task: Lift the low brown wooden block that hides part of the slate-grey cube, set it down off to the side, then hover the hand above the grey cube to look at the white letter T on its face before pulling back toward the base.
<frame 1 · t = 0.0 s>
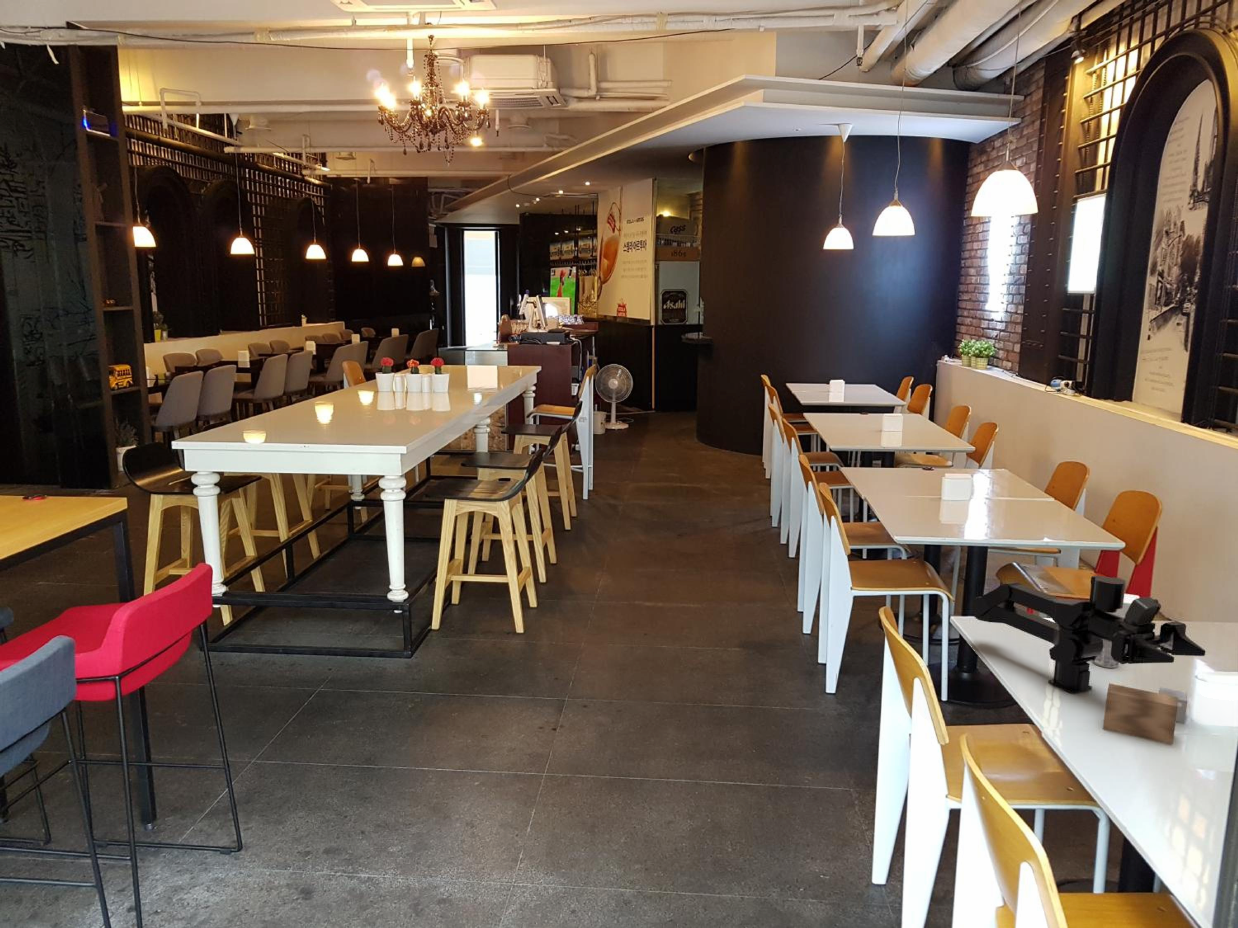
hand: (1189, 656, 176), 17 cm above the table, tool horizontal, fingers open, 9 cm apart
letter cube: (1170, 716, 188), on the table
energy drink: (1105, 664, 215), on the table
brown wooden block: (1137, 732, 181), on the table
small box: (1120, 648, 226), on the table
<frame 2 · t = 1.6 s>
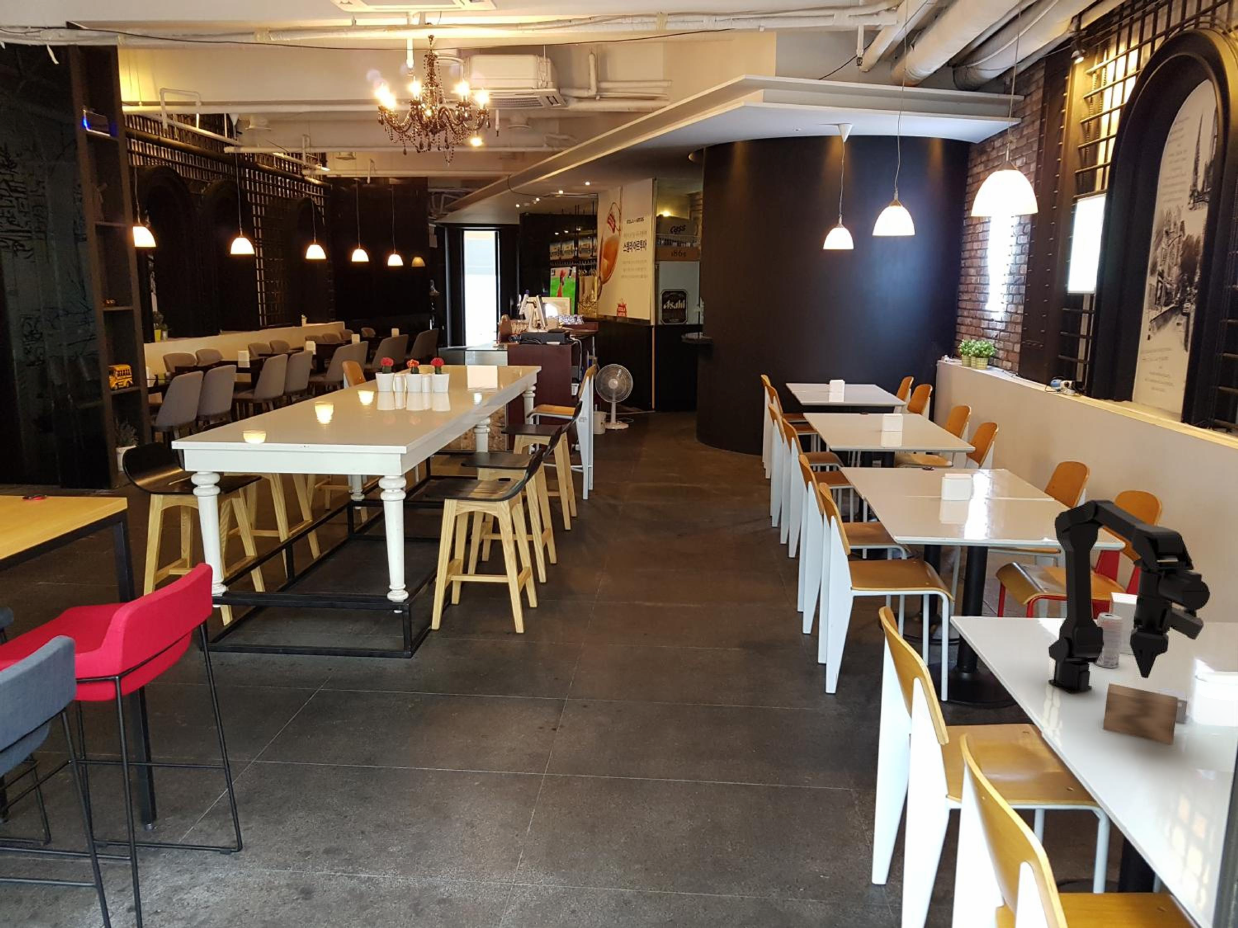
hand: (1145, 669, 179), 13 cm above the table, tool pointing down, fingers open, 9 cm apart
nothing on the table moved.
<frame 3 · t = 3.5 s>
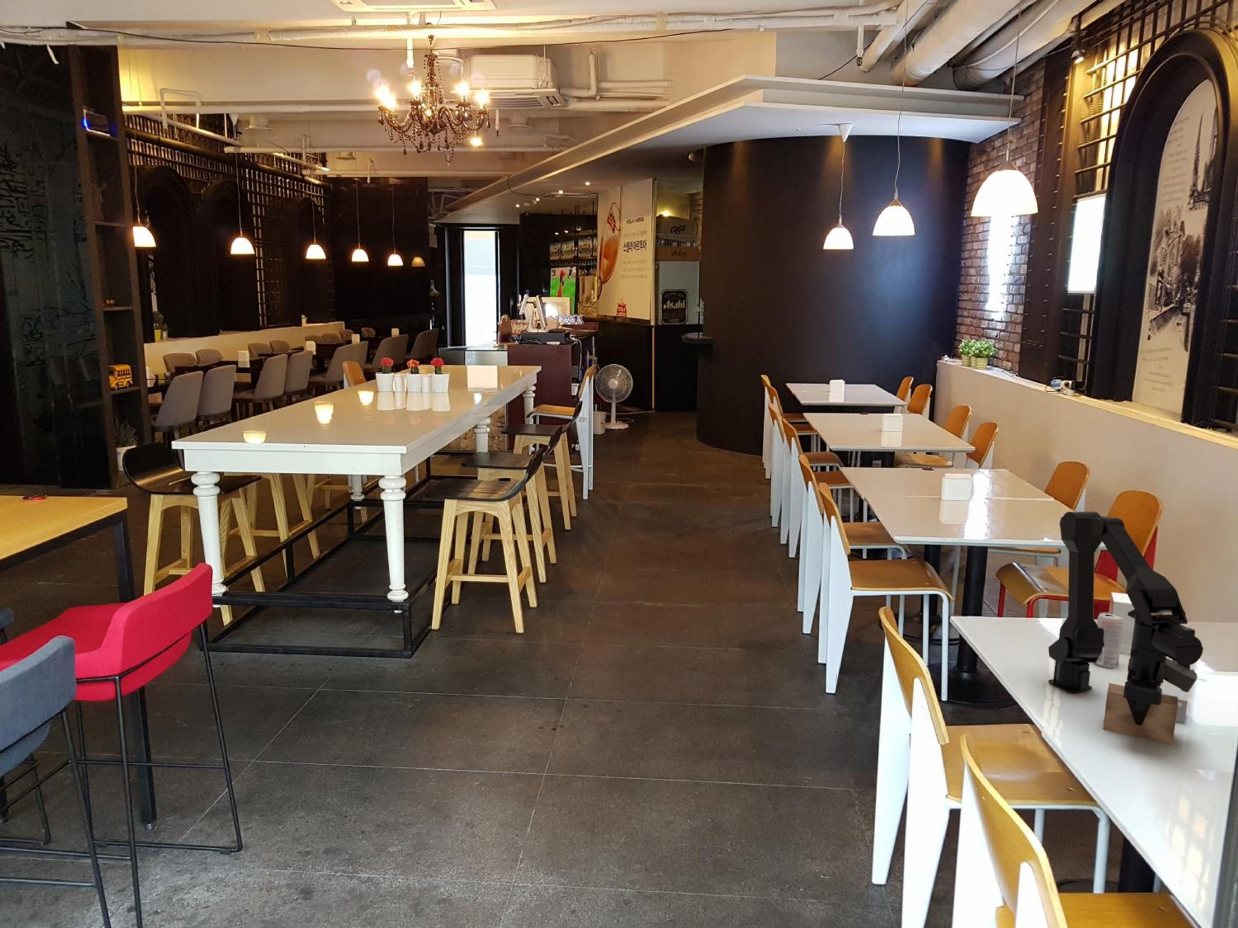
hand: (1139, 719, 180), 3 cm above the table, tool pointing down, fingers closed on brown wooden block, 5 cm apart
brown wooden block: (1137, 731, 181), on the table, touching gripper
everything else where it was.
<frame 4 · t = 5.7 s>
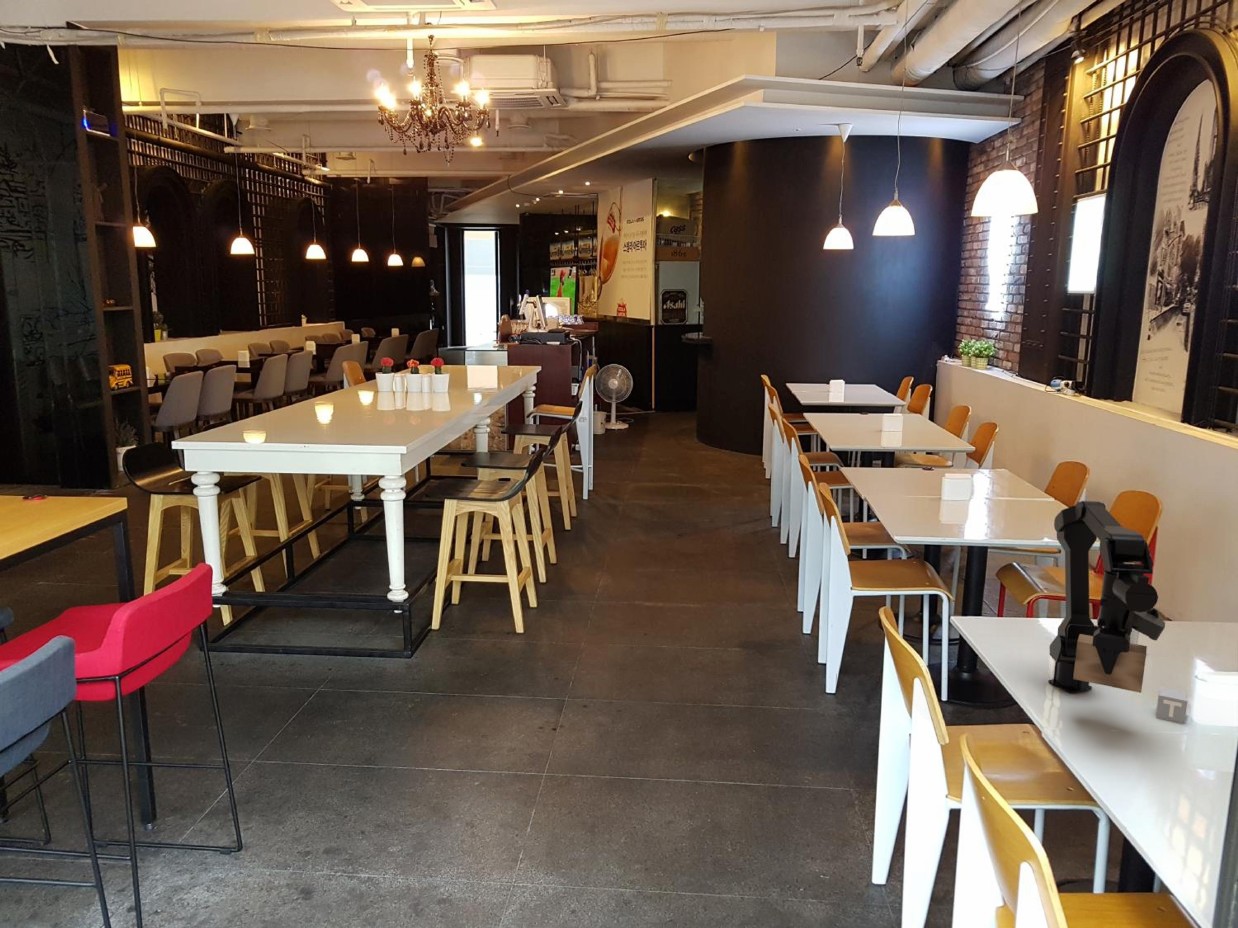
hand: (1108, 669, 182), 12 cm above the table, tool pointing down, fingers closed on brown wooden block, 5 cm apart
brown wooden block: (1107, 681, 182), point 9 cm above the table, touching gripper
everything else where it was.
when the fingers open (4 cm above the table, at t = 7.9 s): brown wooden block drops 2 cm, on the table.
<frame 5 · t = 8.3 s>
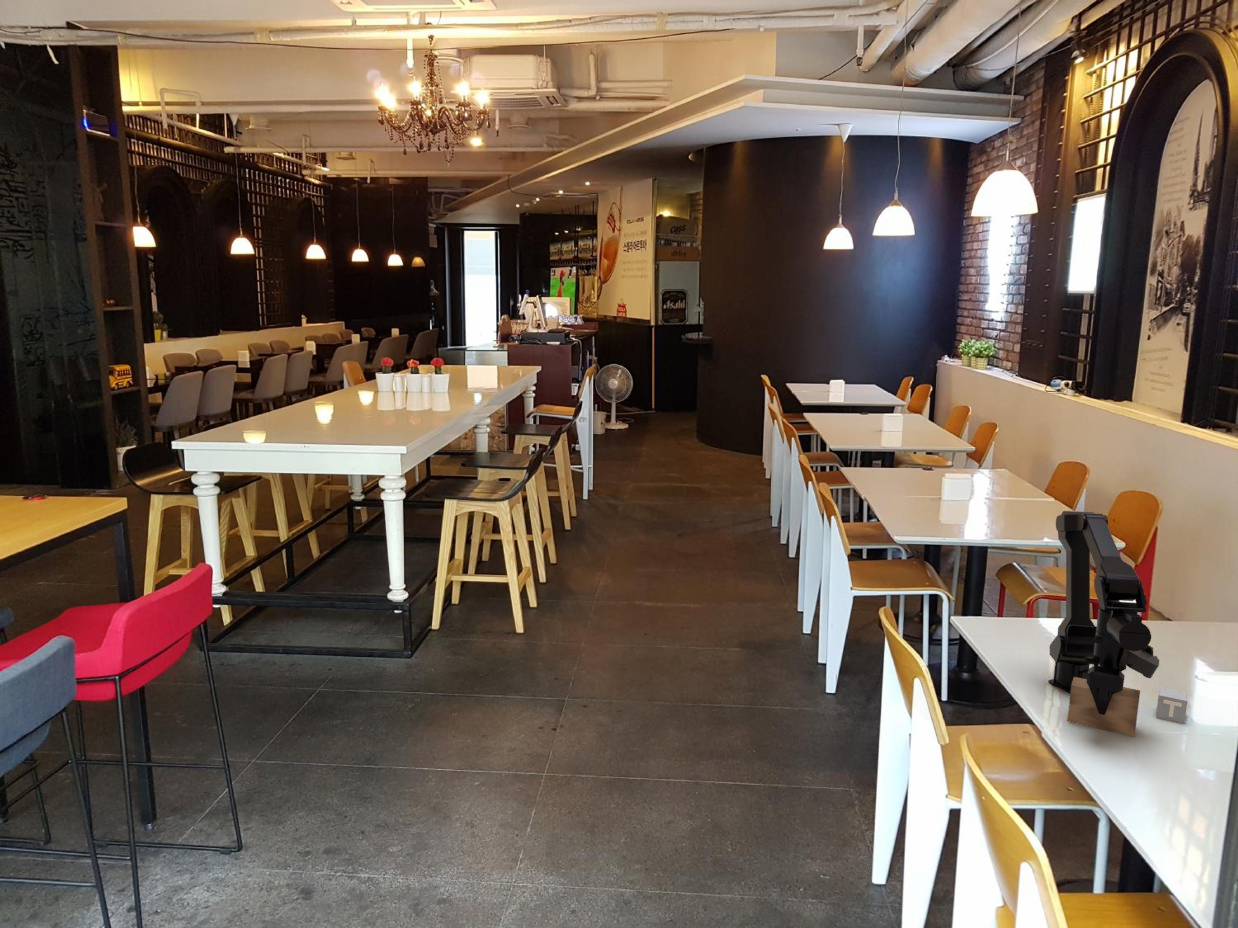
hand: (1103, 705, 183), 4 cm above the table, tool pointing down, fingers open, 9 cm apart
brown wooden block: (1101, 724, 184), on the table
everything else where it was.
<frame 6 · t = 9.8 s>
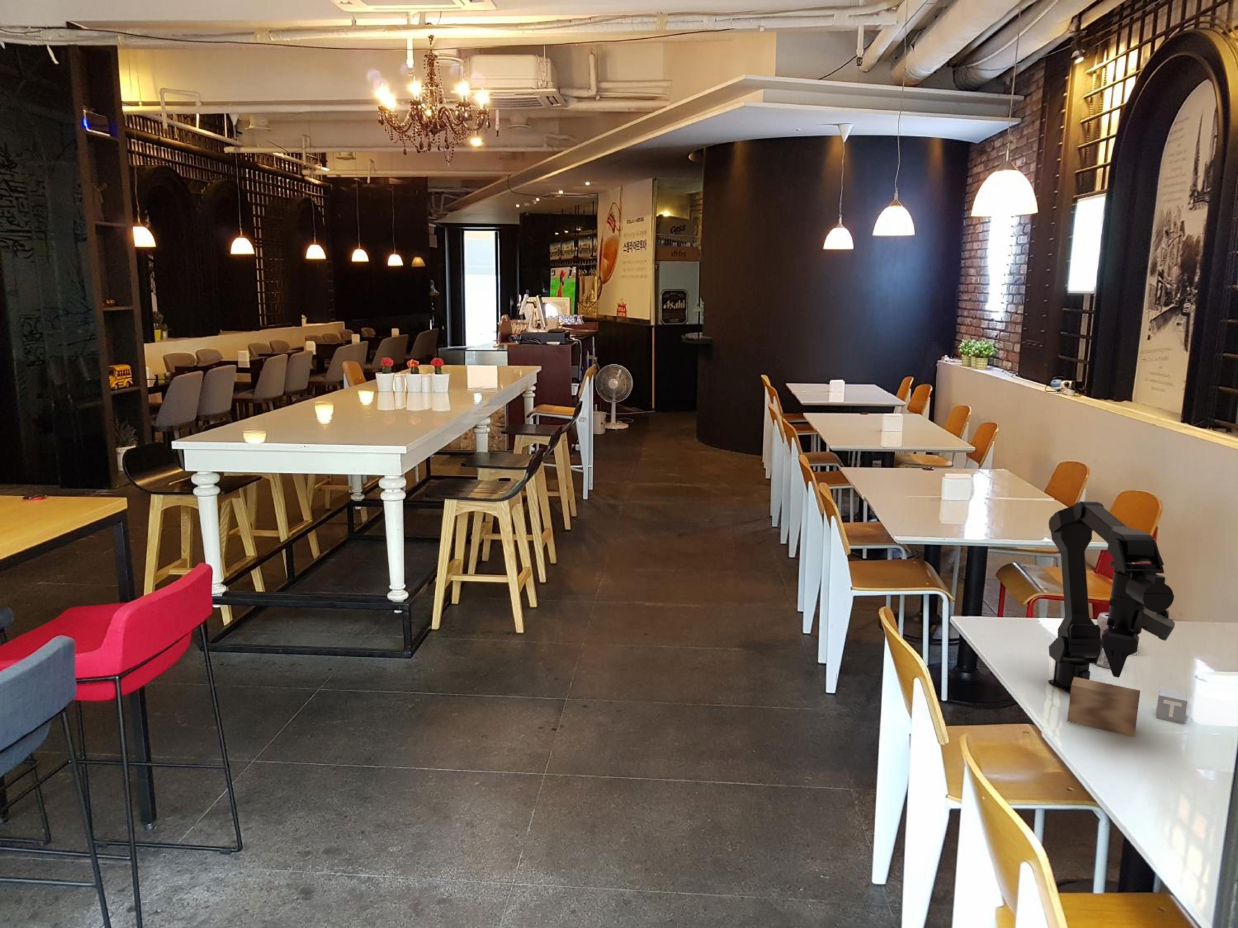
hand: (1118, 669, 183), 12 cm above the table, tool pointing down, fingers open, 9 cm apart
nothing on the table moved.
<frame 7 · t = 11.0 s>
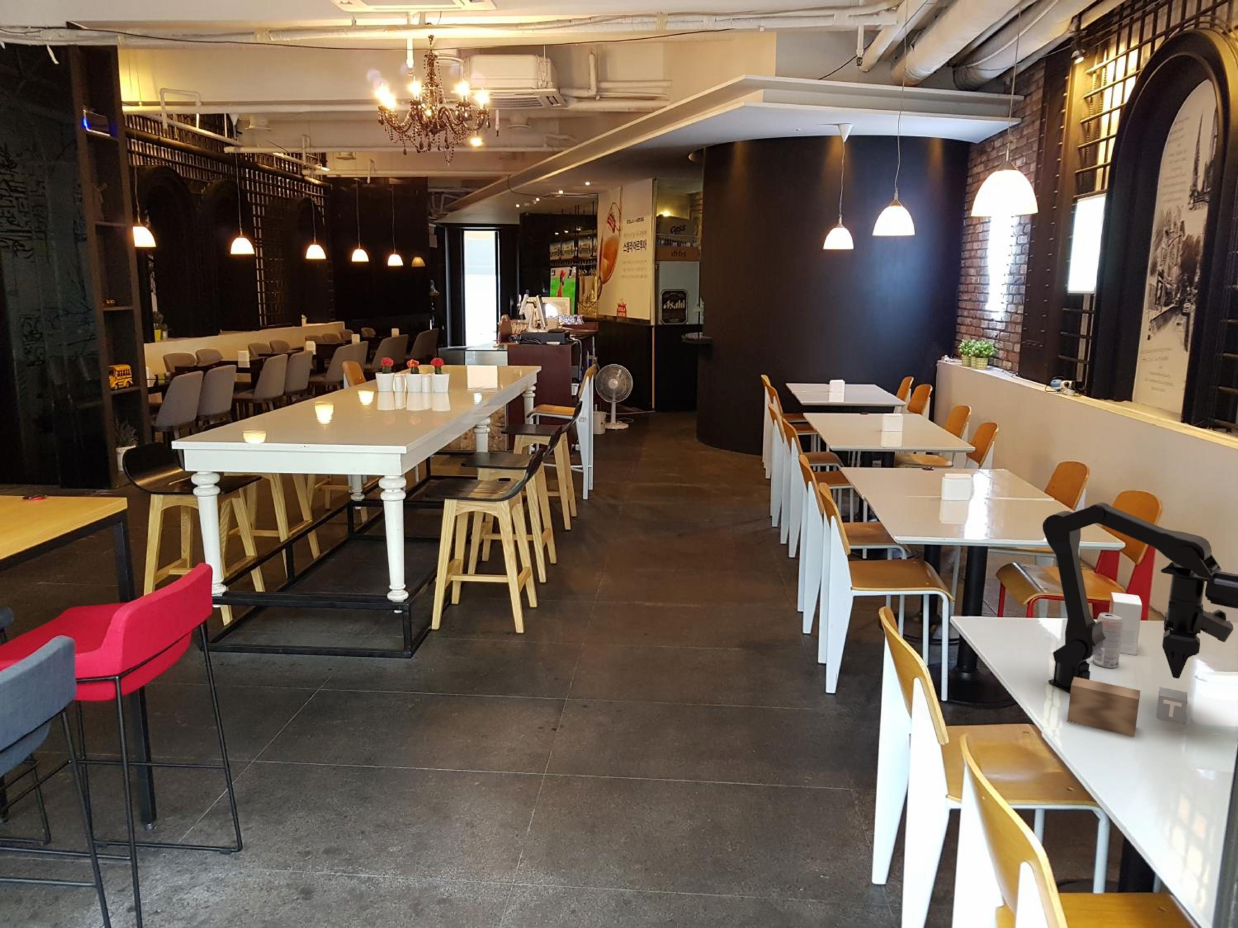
hand: (1176, 670, 186), 10 cm above the table, tool pointing down, fingers open, 9 cm apart
nothing on the table moved.
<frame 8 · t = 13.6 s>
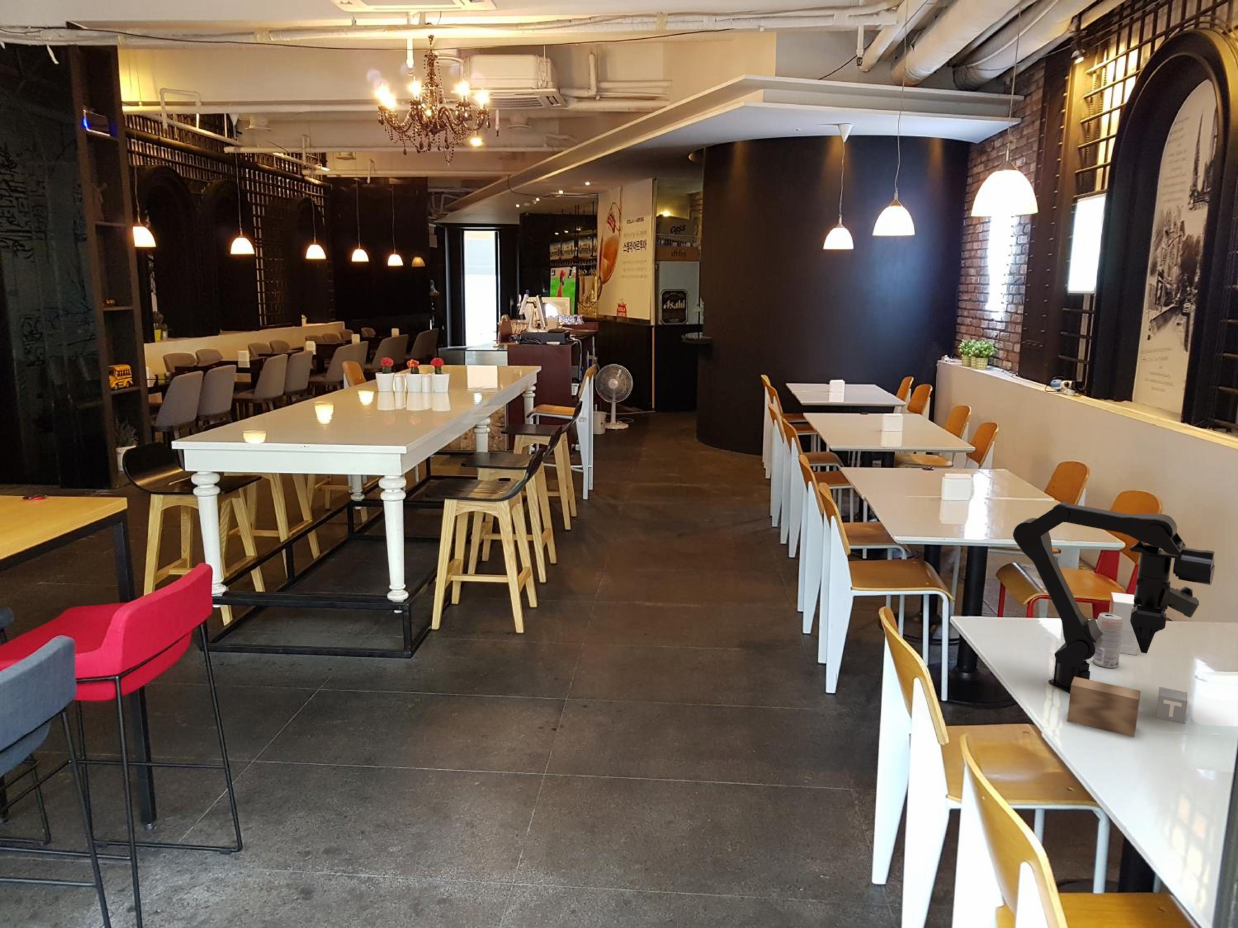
hand: (1144, 645, 192), 13 cm above the table, tool pointing down, fingers open, 9 cm apart
nothing on the table moved.
at the end: brown wooden block inside the target area (0.1 cm from its centre), on the table; brown wooden block tilted 0°; letter cube moved 0.1 cm from its start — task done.
